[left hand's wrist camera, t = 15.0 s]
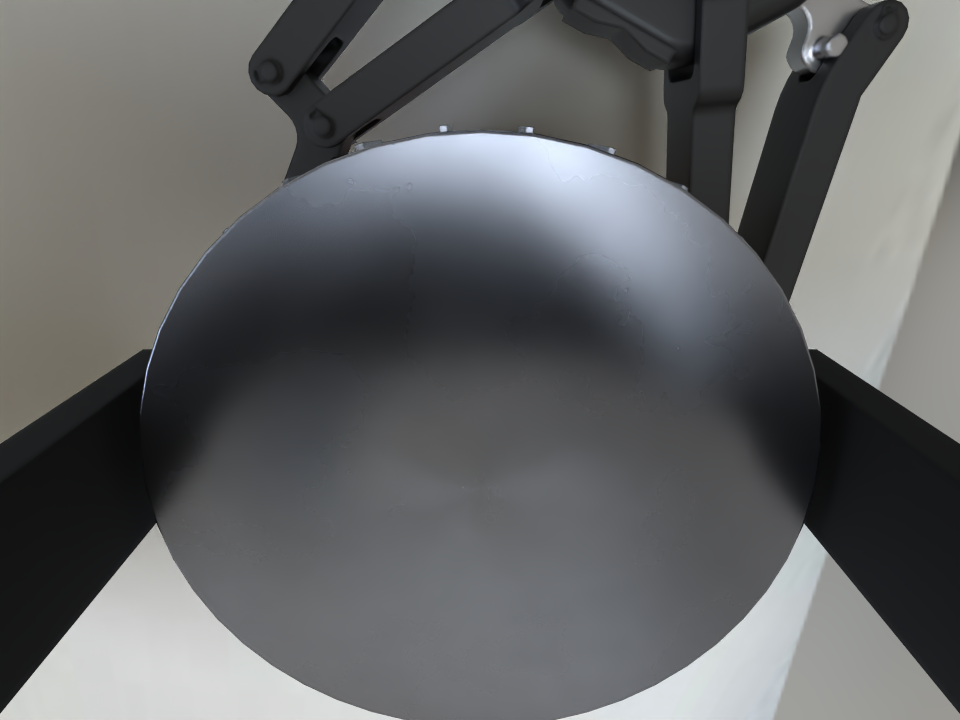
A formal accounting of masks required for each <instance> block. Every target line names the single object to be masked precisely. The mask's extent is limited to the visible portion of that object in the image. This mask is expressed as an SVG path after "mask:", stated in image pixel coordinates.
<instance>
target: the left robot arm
mask: <svg viewBox="0 0 960 720" xmlns="http://www.w3.org/2000/svg"><path fill="white" fill-rule="evenodd" d="M808 350H809V353H810V356H811V360H812V363H813V366H814V369H815V375H816V382H817V389H818V395H819V402H820V409H821V451H820V457H819V463H818V470H817V476H816V482H815V489H814V492H813V495H812V498H811V502H810V505H809V508H808V511H807V515H806V518H805V521H804V524H805V525H806V526H807V527H808V529H809V530H810V531H811V532H812V533H813V535H814V536H815V537H816V538H817V540H818V541H819V542H820V543H821V544H822V546H823V547H824V548H825V549H826V551H827V552H828V553H829V554H830V555H831V557H832V558H833V559H834V560H835V562H836V563H837V564H838V565H839V566H840V568H841V569H842V570H843V571H844V573H845V574H846V575H847V576H848V577H849V579H850V580H851V581H852V582H853V584H854V585H855V586H856V587H857V589H858V590H859V591H860V592H861V593H862V595H863V596H864V597H865V598H866V600H867V601H868V602H869V603H870V604H871V606H872V607H873V608H874V609H875V611H876V612H877V613H878V614H879V615H880V617H881V618H882V619H883V620H884V621H885V623H886V624H887V625H888V626H889V628H890V629H891V630H892V631H893V633H894V634H895V635H896V636H897V637H898V639H899V640H900V641H901V642H902V643H903V645H904V646H905V647H906V648H907V650H908V651H909V652H910V653H911V654H912V656H913V657H914V658H915V659H916V661H917V662H918V663H919V664H920V666H921V667H922V668H923V669H924V670H925V672H926V673H927V674H928V675H929V676H930V678H931V679H932V680H933V681H934V683H935V684H936V685H937V686H938V688H939V689H940V690H941V691H942V692H943V694H944V695H945V696H946V697H947V699H948V700H949V701H950V702H951V703H952V705H953V706H954V707H955V708H956V709H957V711H958V712H959V713H960V444H959V443H958V442H956V441H954V440H953V439H952V438H950V437H948V436H947V435H945V434H944V433H942V432H941V431H939V430H938V429H936V428H935V427H933V426H932V425H930V424H929V423H927V422H926V421H924V420H923V419H921V418H920V417H918V416H917V415H915V414H914V413H912V412H911V411H909V410H908V409H906V408H905V407H903V406H902V405H900V404H899V403H897V402H896V401H894V400H892V399H891V398H889V397H888V396H886V395H885V394H883V393H882V392H880V391H879V390H877V389H876V388H874V387H873V386H871V385H870V384H868V383H867V382H865V381H864V380H862V379H861V378H859V377H858V376H856V375H855V374H853V373H852V372H850V371H849V370H847V369H846V368H844V367H843V366H841V365H839V364H838V363H836V362H835V361H833V360H832V359H830V358H829V357H827V356H826V355H824V354H823V353H821V352H820V351H818V350H817V349H808ZM151 352H152V349H143V350H142V351H140V352H139V353H137V354H136V355H134V356H133V357H131V358H130V359H128V360H127V361H125V362H124V363H122V364H121V365H119V366H117V367H116V368H114V369H113V370H111V371H110V372H108V373H107V374H105V375H104V376H102V377H101V378H99V379H98V380H96V381H95V382H93V383H92V384H90V385H89V386H87V387H86V388H84V389H83V390H81V391H80V392H78V393H77V394H75V395H74V396H72V397H71V398H69V399H68V400H66V401H64V402H63V403H61V404H60V405H58V406H57V407H55V408H54V409H52V410H51V411H49V412H48V413H46V414H45V415H43V416H42V417H40V418H39V419H37V420H36V421H34V422H33V423H31V424H30V425H28V426H27V427H25V428H24V429H22V430H21V431H19V432H18V433H16V434H15V435H13V436H12V437H10V438H8V439H7V440H5V441H4V442H2V443H1V444H0V713H1V712H2V711H3V710H4V708H5V707H6V706H7V705H8V703H9V702H10V701H11V700H12V699H13V697H14V696H15V695H16V694H17V692H18V691H19V690H20V689H21V688H22V686H23V685H24V684H25V683H26V681H27V680H28V679H29V678H30V677H31V675H32V674H33V673H34V672H35V670H36V669H37V668H38V667H39V666H40V664H41V663H42V662H43V661H44V659H45V658H46V657H47V656H48V655H49V653H50V652H51V651H52V650H53V648H54V647H55V646H56V645H57V644H58V642H59V641H60V640H61V639H62V637H63V636H64V635H65V634H66V633H67V631H68V630H69V629H70V628H71V626H72V625H73V624H74V623H75V622H76V620H77V619H78V618H79V617H80V615H81V614H82V613H83V612H84V611H85V609H86V608H87V607H88V606H89V604H90V603H91V602H92V601H93V600H94V598H95V597H96V596H97V595H98V593H99V592H100V591H101V590H102V589H103V587H104V586H105V585H106V584H107V582H108V581H109V580H110V579H111V577H112V576H113V575H114V574H115V573H116V571H117V570H118V569H119V568H120V566H121V565H122V564H123V563H124V562H125V560H126V559H127V558H128V557H129V555H130V554H131V553H132V552H133V551H134V549H135V548H136V547H137V546H138V544H139V543H140V542H141V541H142V540H143V538H144V537H145V536H146V535H147V533H148V532H149V531H150V530H151V529H152V527H153V526H154V525H155V524H156V519H155V516H154V513H153V509H152V506H151V503H150V500H149V496H148V493H147V490H146V485H145V479H144V472H143V466H142V459H141V453H140V406H141V400H142V393H143V387H144V380H145V374H146V368H147V365H148V362H149V358H150V355H151Z"/></svg>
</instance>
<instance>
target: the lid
mask: <svg viewBox="0 0 960 720" xmlns="http://www.w3.org/2000/svg"><path fill="white" fill-rule="evenodd" d="M439 127H440V132H435V133H427V134H422V135H417V136H413V137H408V138H403V139H399V140H394V141H389V142H384V143H383V142H382V140H379V141H371V142H364V143H360V144H357V145H356V147H357V150H358V151H355V152H353V153H350V154H347V155H345V156H342V157H339V158H336V159H334V160H331V161H328V162H325V163H323V164H321V165H320V166H318V167H316V168H314V169H312V170H310V171H308V172H307V173H305V174H302V175H298V176H295V177H291V178H287V179H286V180H284V181H283V182H282V183H283V186H281V187H279V188H278V189H276V190H275V191H274V192H272V193H271V194H270V195H268V196H267V197H266V198H264V199H263V200H262V201H260V202H259V203H258V204H256V205H255V206H254V207H252V208H251V209H250V210H248V211H247V212H246V213H244V214H243V215H242V216H240V217H239V218H238V219H237V220H236V221H235V222H234V223H233V224H232V225H231V226H230V227H229V228H226V229H225V230H224V232H223V234H222V235H221V236H220V237H219V238H218V239H217V240H216V241H215V242H214V243H213V244H212V245H211V247H210V248H209V249H208V250H207V251H206V252H205V253H204V255H203V256H202V257H201V259H200V260H199V262H198V263H197V264H196V266H195V267H194V268H193V270H192V271H191V273H190V274H189V275H188V277H187V278H186V280H185V281H184V282H183V284H182V285H181V287H180V288H179V290H178V292H177V294H176V296H175V298H174V300H173V302H172V304H171V306H170V308H169V310H168V312H167V314H166V315H165V317H164V319H163V321H162V323H161V325H160V327H159V330H158V333H157V337H156V340H155V343H154V346H153V349H152V352H151V355H150V358H149V362H148V365H147V368H146V374H145V380H144V387H143V393H142V400H141V406H140V453H141V459H142V466H143V472H144V479H145V485H146V490H147V493H148V496H149V500H150V503H151V506H152V509H153V513H154V516H155V519H156V523H157V525H158V527H159V530H160V532H161V534H162V536H163V538H164V540H165V542H166V545H167V547H168V549H169V551H170V553H171V555H172V558H173V559H174V561H175V562H176V564H177V566H178V567H179V569H180V570H181V572H182V573H183V575H184V577H185V578H186V580H187V581H188V583H189V584H190V586H191V588H192V589H193V590H194V592H195V593H196V594H197V595H198V597H199V598H200V599H201V600H202V601H203V603H204V604H205V605H206V606H207V607H208V609H209V610H210V611H211V612H212V613H213V615H214V616H215V617H216V618H217V619H218V620H219V621H220V622H221V623H222V624H223V625H224V626H225V627H226V628H227V629H228V630H229V631H231V632H232V633H233V634H234V635H235V636H236V637H237V638H238V639H239V640H240V641H241V642H242V643H243V644H244V645H246V646H247V647H248V648H250V649H251V650H252V651H254V652H255V653H256V654H258V655H259V656H260V657H262V658H263V659H264V660H266V661H267V662H268V663H270V664H271V665H272V666H274V667H276V668H277V669H279V670H281V671H282V672H284V673H286V674H287V675H289V676H291V677H292V678H294V679H296V680H297V681H299V682H301V683H302V684H304V685H306V686H308V687H311V688H313V689H315V690H317V691H319V692H321V693H324V694H326V695H328V696H330V697H332V698H334V699H336V700H339V701H342V702H345V703H348V704H351V705H353V706H356V707H359V708H362V709H365V710H368V711H371V712H374V713H379V714H383V715H387V716H391V717H395V718H399V719H403V720H557V719H561V718H565V717H569V716H574V715H578V714H582V713H586V712H590V711H592V710H595V709H598V708H601V707H604V706H607V705H610V704H613V703H616V702H619V701H621V700H624V699H626V698H628V697H630V696H633V695H635V694H637V693H639V692H641V691H643V690H646V689H648V688H650V687H652V686H654V685H656V684H658V683H660V682H661V681H663V680H665V679H666V678H668V677H670V676H671V675H673V674H675V673H677V672H678V671H680V670H682V669H683V668H685V667H687V666H688V665H689V664H691V663H692V662H693V661H695V660H696V659H697V658H699V657H700V656H701V655H703V654H704V653H705V652H707V651H708V650H709V649H711V648H712V647H713V646H715V645H716V644H717V643H718V642H719V641H720V640H722V639H723V638H724V637H725V636H726V635H727V634H728V633H729V632H730V631H731V630H732V629H733V628H734V627H735V626H736V625H737V624H738V623H740V622H741V621H742V620H743V619H744V618H745V616H746V615H747V614H748V613H749V612H750V610H751V609H752V608H753V607H754V606H755V604H756V603H757V602H758V601H759V600H760V598H761V597H762V596H763V595H764V594H765V592H766V591H767V590H768V588H769V587H770V585H771V584H772V582H773V581H774V579H775V577H776V576H777V574H778V573H779V571H780V570H781V568H782V567H783V565H784V563H785V562H786V560H787V559H788V556H789V554H790V552H791V550H792V548H793V546H794V544H795V542H796V539H797V537H798V535H799V533H800V531H801V529H802V527H803V524H804V521H805V518H806V515H807V511H808V508H809V505H810V502H811V498H812V495H813V492H814V489H815V482H816V476H817V470H818V463H819V457H820V451H821V409H820V402H819V395H818V389H817V382H816V375H815V369H814V366H813V363H812V360H811V356H810V353H809V350H808V347H807V344H806V340H805V337H804V334H803V331H802V328H801V326H800V324H799V322H798V320H797V318H796V316H795V314H794V312H793V310H792V308H791V306H790V304H789V302H788V300H787V298H786V296H785V294H784V292H783V290H782V288H781V287H780V286H779V284H778V283H777V281H776V280H775V279H774V277H773V276H772V274H771V273H770V272H769V270H768V269H767V267H766V266H765V265H764V263H763V262H762V260H761V259H760V258H759V256H758V255H757V253H756V252H755V251H754V250H753V249H752V248H751V247H750V246H749V245H748V244H747V243H746V242H745V240H744V239H743V237H742V236H739V235H738V233H737V232H736V231H735V230H734V229H733V228H732V227H731V226H730V225H729V224H728V223H727V222H726V221H725V220H724V219H723V218H722V217H720V216H719V215H718V214H716V213H715V212H714V211H713V210H711V209H710V208H709V207H707V206H706V205H705V204H703V203H702V202H701V201H699V200H698V199H697V198H695V197H694V196H693V195H691V194H690V193H689V192H687V190H688V188H687V187H686V186H684V185H682V184H679V183H675V182H672V181H669V180H667V179H665V178H663V177H662V176H660V175H658V174H656V173H654V172H652V171H651V170H649V169H647V168H645V167H643V166H641V165H640V164H638V163H635V162H632V161H630V160H627V159H624V158H622V157H619V156H616V155H614V154H615V151H616V149H614V148H612V147H608V146H601V145H595V144H588V145H585V144H581V143H576V142H572V141H567V140H562V139H558V138H553V137H548V136H544V135H539V134H534V133H533V130H534V127H529V126H519V127H518V132H513V131H499V130H485V129H476V130H462V131H453V126H452V125H441V126H439Z"/></svg>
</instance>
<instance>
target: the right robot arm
mask: <svg viewBox="0 0 960 720" xmlns="http://www.w3.org/2000/svg"><path fill="white" fill-rule="evenodd" d="M382 1H383V0H293V1H292V2H291V4H290V5H289V6H288V8H287V9H286V10H285V12H284V13H283V14H282V16H281V17H280V19H279V20H278V21H277V23H276V24H275V25H274V27H273V28H272V29H271V31H270V32H269V34H268V35H267V36H266V38H265V39H264V40H263V42H262V43H261V44H260V46H259V47H258V48H257V50H256V51H255V53H254V54H253V55H252V57H251V60H250V62H249V76H250V79H251V82H252V83H253V84H254V86H255V87H256V88H257V90H259V91H261V92H262V93H264V94H266V95H268V96H269V97H270V98H271V99H272V100H273V101H274V102H275V103H276V104H277V105H278V106H279V107H280V108H281V109H282V110H283V111H284V112H285V113H286V114H287V115H288V116H289V117H290V119H291V120H292V121H293V123H294V125H295V127H296V131H297V145H296V149H295V152H294V155H293V157H292V160H291V163H290V166H289V168H288V171H287V174H286V177H285V179H284V180H286V179H287V178H291V177H295V176H298V175H302V174H305V173H307V172H308V171H310V170H312V169H314V168H316V167H318V166H320V165H321V164H323V163H325V162H328V161H331V160H334V159H336V158H339V157H342V156H345V155H347V154H348V152H349V150H350V147H351V145H352V144H354V143H356V140H357V139H358V138H360V137H361V136H363V135H364V134H365V133H367V132H368V131H370V130H371V129H372V128H374V127H375V126H377V125H378V124H379V123H381V122H382V121H384V120H385V119H386V118H388V117H389V116H391V115H392V114H393V113H395V112H396V111H398V110H399V109H400V108H402V107H403V106H405V105H406V104H407V103H409V102H410V101H412V100H413V99H414V98H416V97H417V96H419V95H420V94H421V93H423V92H424V91H426V90H427V89H428V88H430V87H431V86H433V85H434V84H435V83H437V82H438V81H440V80H441V79H442V78H444V77H445V76H447V75H448V74H449V73H451V72H452V71H454V70H455V69H456V68H458V67H459V66H461V65H462V64H463V63H465V62H466V61H468V60H469V59H470V58H472V57H473V56H475V55H476V54H477V53H479V52H480V51H482V50H483V49H484V48H486V47H487V46H489V45H490V44H491V43H493V42H494V41H496V40H497V39H498V38H500V37H501V36H503V35H504V34H505V33H507V32H508V31H510V30H511V29H512V28H514V27H516V26H518V25H520V24H521V23H523V22H525V21H526V20H527V19H529V18H530V17H532V16H533V15H535V14H536V13H537V12H539V11H540V10H542V9H543V8H544V7H546V6H547V5H549V4H550V3H551V2H554V4H555V6H556V7H557V9H558V10H559V11H560V13H561V14H562V15H563V16H564V17H563V20H562V21H563V22H565V23H567V24H569V25H570V26H572V27H574V28H575V29H577V30H579V31H581V32H582V33H585V34H589V35H594V36H598V37H602V38H607V39H610V40H611V41H612V42H613V43H614V44H615V45H616V46H617V47H618V48H619V49H620V50H621V51H622V52H623V53H624V55H625V56H626V57H627V58H628V59H630V60H631V61H633V62H635V63H637V64H638V65H640V66H642V67H644V68H645V69H647V70H649V71H651V70H654V69H660V70H664V104H665V108H666V110H667V115H668V126H667V170H666V179H667V180H669V181H672V182H675V183H679V184H682V185H684V186H686V187H687V188H688V190H687V192H689V193H690V194H691V195H693V196H694V197H695V198H697V199H698V200H699V201H701V202H702V203H703V204H705V205H706V206H707V207H709V208H710V209H711V210H713V211H714V212H715V213H716V214H718V215H719V216H720V217H722V218H723V219H724V220H725V221H726V222H727V223H728V224H729V208H730V191H731V174H732V157H733V141H734V124H735V111H736V107H737V104H738V102H739V101H740V99H741V97H742V93H743V89H744V79H745V63H746V47H747V35H749V34H751V33H753V32H755V31H756V30H758V29H760V28H762V27H764V26H765V25H767V24H769V23H771V22H773V21H775V20H776V19H778V18H780V17H782V16H784V15H785V14H786V15H787V16H788V17H789V18H790V20H791V22H792V25H793V38H792V40H791V43H790V46H789V49H788V52H787V56H786V58H787V62H788V64H789V66H790V68H791V69H792V70H793V71H792V73H791V75H790V76H789V78H788V80H787V82H786V84H785V86H784V88H783V90H782V92H781V94H780V97H779V100H778V103H777V106H776V108H775V111H774V115H773V118H772V121H771V124H770V128H769V131H768V134H767V138H766V141H765V144H764V147H763V151H762V154H761V157H760V160H759V164H758V167H757V170H756V174H755V177H754V180H753V183H752V187H751V190H750V193H749V197H748V200H747V203H746V206H745V210H744V213H743V216H742V220H741V223H740V226H739V229H738V235H739V236H742V237H743V239H744V240H745V242H746V243H747V244H748V245H749V246H750V247H751V248H752V249H753V250H754V251H755V252H756V253H757V255H758V256H759V258H760V259H761V260H762V262H763V263H764V265H765V266H766V267H767V269H768V270H769V272H770V273H771V274H772V276H773V277H774V279H775V280H776V281H777V283H778V284H779V286H780V287H781V288H782V290H783V292H784V294H785V296H786V298H787V300H788V302H789V301H790V298H791V295H792V292H793V289H794V286H795V283H796V281H797V278H798V275H799V272H800V269H801V266H802V263H803V261H804V258H805V255H806V252H807V249H808V246H809V243H810V240H811V238H812V235H813V232H814V229H815V226H816V223H817V220H818V218H819V215H820V212H821V209H822V206H823V203H824V200H825V198H826V195H827V192H828V189H829V186H830V183H831V180H832V178H833V175H834V172H835V169H836V166H837V163H838V160H839V157H840V155H841V152H842V149H843V146H844V143H845V140H846V137H847V135H848V132H849V129H850V126H851V123H852V120H853V117H854V115H855V112H856V109H857V106H858V103H859V100H860V97H861V95H862V94H863V92H864V91H865V90H866V88H867V87H868V85H869V84H870V83H871V81H872V80H873V78H874V77H875V76H876V74H877V73H878V71H879V70H880V69H881V67H882V66H883V64H884V63H885V61H886V60H887V59H888V57H889V56H890V54H891V53H892V52H893V50H894V49H895V47H896V46H897V45H898V43H899V42H900V40H901V39H902V38H903V36H904V34H905V32H906V30H907V28H908V22H909V15H908V11H907V8H906V7H905V6H904V5H903V3H902V2H899V1H897V0H885V1H881V2H878V3H875V4H872V5H870V4H867V3H866V2H864V1H863V0H453V1H452V2H450V3H449V4H447V5H446V6H445V7H443V8H442V9H441V10H439V11H438V12H437V13H435V14H434V15H433V16H431V17H430V18H429V19H427V20H426V21H425V22H423V23H422V24H421V25H419V26H418V27H416V28H415V29H414V30H412V31H411V32H410V33H408V34H407V35H406V36H404V37H403V38H402V39H400V40H399V41H398V42H396V43H395V44H394V45H392V46H391V47H390V48H388V49H387V50H385V51H384V52H383V53H381V54H380V55H379V56H377V57H376V58H375V59H373V60H372V61H371V62H369V63H368V64H367V65H365V66H364V67H363V68H361V69H360V70H358V71H357V72H356V73H354V74H353V75H352V76H350V77H349V78H348V79H346V80H345V81H344V82H342V83H341V84H340V85H338V86H337V87H336V88H334V89H333V90H332V91H330V90H329V89H328V88H327V87H326V86H325V85H324V84H323V82H322V81H321V79H322V78H323V76H324V75H325V74H326V72H327V71H328V70H329V69H330V67H331V66H332V65H333V64H334V62H335V61H336V60H337V58H338V57H339V56H340V55H341V53H342V52H343V51H344V49H345V48H346V47H347V46H348V44H349V43H350V42H351V40H352V39H353V38H354V37H355V35H356V34H357V33H358V32H359V30H360V29H361V28H362V26H363V25H364V24H365V23H366V21H367V20H368V19H369V17H370V16H371V15H372V14H373V12H374V11H375V10H376V9H377V7H378V6H379V5H380V3H381V2H382ZM282 186H283V185H282Z"/></svg>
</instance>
